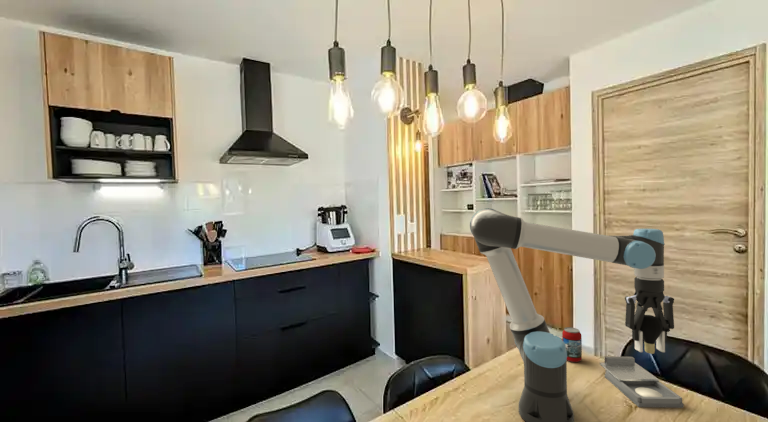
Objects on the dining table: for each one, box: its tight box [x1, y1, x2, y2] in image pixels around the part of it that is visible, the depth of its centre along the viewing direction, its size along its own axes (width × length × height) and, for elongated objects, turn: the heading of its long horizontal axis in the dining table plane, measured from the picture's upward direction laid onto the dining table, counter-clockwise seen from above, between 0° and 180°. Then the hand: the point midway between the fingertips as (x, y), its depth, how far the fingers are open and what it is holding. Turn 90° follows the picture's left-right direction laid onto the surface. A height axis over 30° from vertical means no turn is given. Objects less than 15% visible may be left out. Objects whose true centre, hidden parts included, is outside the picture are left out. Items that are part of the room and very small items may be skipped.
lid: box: [599, 355, 660, 382], centre depth 123 cm, size 13×12×3 cm
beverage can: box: [561, 326, 583, 363], centre depth 140 cm, size 7×7×12 cm
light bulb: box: [640, 314, 663, 355], centre depth 112 cm, size 7×7×12 cm
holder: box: [604, 369, 684, 409], centre depth 116 cm, size 13×18×3 cm
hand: (649, 350), depth 112 cm, fingers closed on light bulb, 6 cm apart
